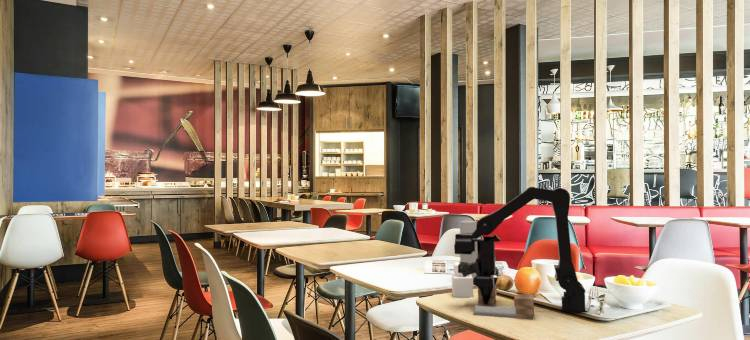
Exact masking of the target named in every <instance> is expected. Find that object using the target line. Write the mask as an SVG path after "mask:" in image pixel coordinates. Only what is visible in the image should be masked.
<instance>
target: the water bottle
mask: <svg viewBox="0 0 750 340" xmlns="http://www.w3.org/2000/svg"><path fill="white" fill-rule="evenodd" d="M477 222H478V221H476V220H462V221H460V225H459V226H460V227H459V234H468V235H472V233H473V231H475V230H476V229H477V228H476V225H477ZM480 237H481V236H480ZM480 237H479V238H477V239H481V238H480ZM475 243H476V250H475V252H474V251H473V252H472V255H470V254H459V258H460V261H459V262H467V263H473V262H476V259H477V258H478V257H477V241H475ZM471 275H472V278H473V279H474V277H475V276H476V273H473V274H471Z"/></svg>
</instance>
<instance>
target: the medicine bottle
mask: <svg viewBox="0 0 750 340" xmlns="http://www.w3.org/2000/svg"><path fill="white" fill-rule="evenodd" d="M466 263H467V262H460V261H456V262H455V263H453V273H452V274H451V275H452V276H451V288H452V289H451V291H452V293H451V294H452V296H453V298H473V297H474V285H473V278H472V275H471V274H470V275H467V276H465V277H463V275H462V273H461V269H460V268H461V266H462V265H463V264H466ZM468 264H469V263H468Z"/></svg>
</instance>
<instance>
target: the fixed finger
mask: <svg viewBox="0 0 750 340" xmlns="http://www.w3.org/2000/svg"><path fill="white" fill-rule="evenodd" d="M534 296H535V295H534V294H525V293H523V294H522V293H516V294H514V298H513V304H514V305H513V307H516V318H515V319H517V318H519V320H530V319H532V320H534V317H533V315H535V308H534V306H535V305H534V304H535V302H534V301H535V300H534ZM532 320H531V321H532Z"/></svg>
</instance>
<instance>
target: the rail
mask: <svg viewBox="0 0 750 340" xmlns="http://www.w3.org/2000/svg"><path fill="white" fill-rule="evenodd" d="M534 315H535V314H534ZM534 315H533V318H534ZM472 316H477V317H478V316H480V317H491V318H492V317H494V318H504V319H505V318H506V319H507V318H508V319H519V318H516V307H514V306H509V305H508V306H507V305H505V306H504V305H496V304H494V305H481V304H478V303H476V304H475V306H474V312H473V313H472ZM519 320H520V319H519ZM529 320H531V321H532V319H529Z"/></svg>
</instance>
